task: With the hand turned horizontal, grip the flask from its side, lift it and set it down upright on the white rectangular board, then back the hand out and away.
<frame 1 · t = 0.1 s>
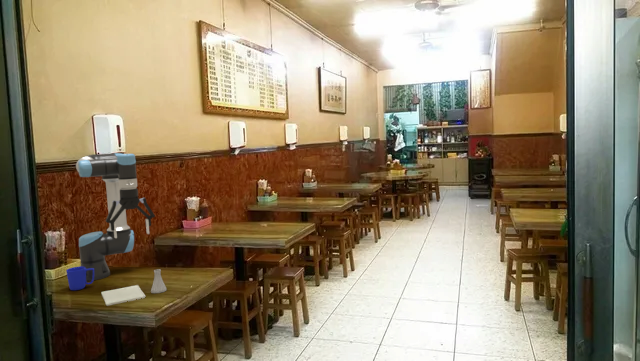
hand: (132, 235, 205), 28 cm above the table, tool pointing down, fingers open, 13 cm apart
white rectangular board: (123, 295, 209), on the table
mug: (82, 288, 224), on the table
flask: (159, 291, 214), on the table
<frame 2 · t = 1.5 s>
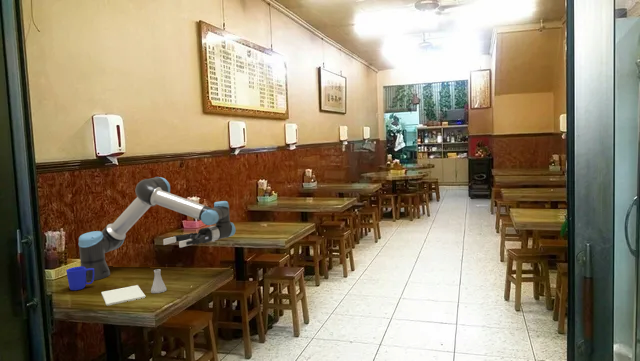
hand: (171, 243, 219), 21 cm above the table, tool horizontal, fingers open, 13 cm apart
nothing on the table moved.
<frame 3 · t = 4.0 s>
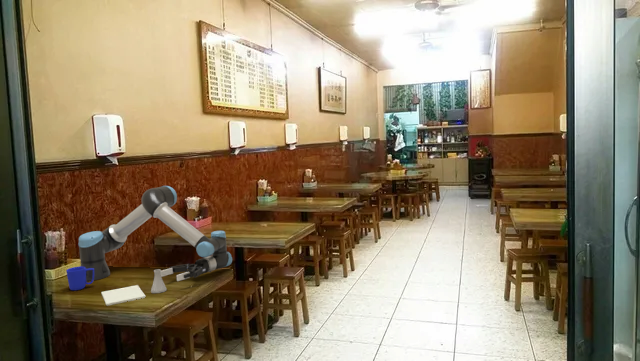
hand: (168, 276, 217), 6 cm above the table, tool horizontal, fingers open, 13 cm apart
nothing on the table moved.
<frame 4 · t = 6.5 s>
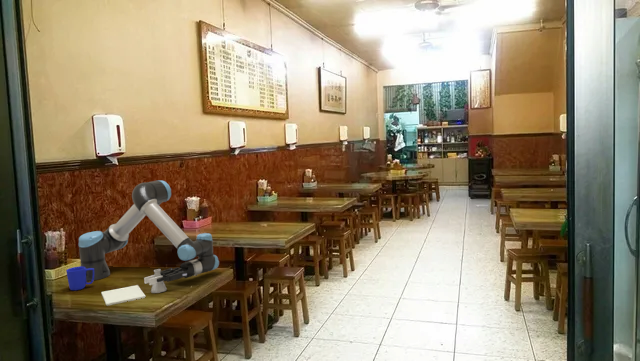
hand: (147, 281, 209), 6 cm above the table, tool horizontal, fingers closed on flask, 3 cm apart
flask: (159, 291, 214), on the table, touching gripper
everything else where it was.
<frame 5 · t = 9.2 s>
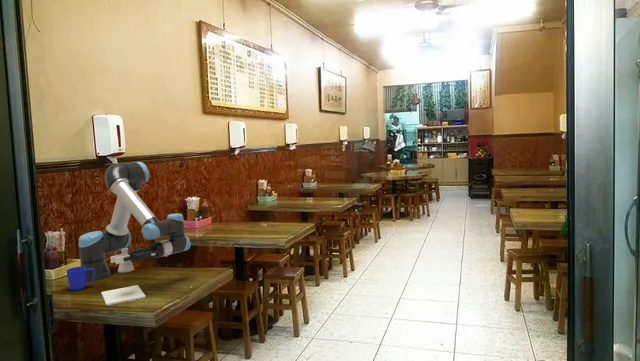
hand: (113, 260, 204), 18 cm above the table, tool horizontal, fingers closed on flask, 3 cm apart
flask: (126, 271, 208), point 11 cm above the table, touching gripper
everything else where it was.
when the fingers open (8 cm above the table, at t = 12.4 s): flask stays where it is, resting on white rectangular board.
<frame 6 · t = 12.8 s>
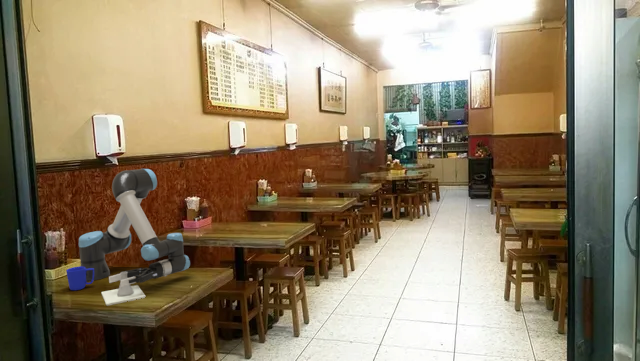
hand: (115, 281, 205), 8 cm above the table, tool horizontal, fingers open, 10 cm apart
flask: (125, 294, 209), point 1 cm above the table, touching white rectangular board
everything else where it was.
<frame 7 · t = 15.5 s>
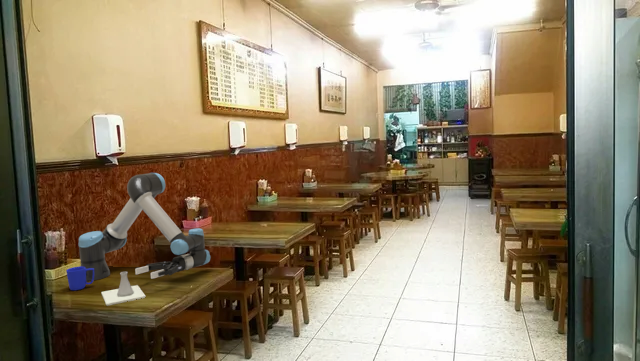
hand: (143, 273, 216), 8 cm above the table, tool horizontal, fingers open, 13 cm apart
nothing on the table moved.
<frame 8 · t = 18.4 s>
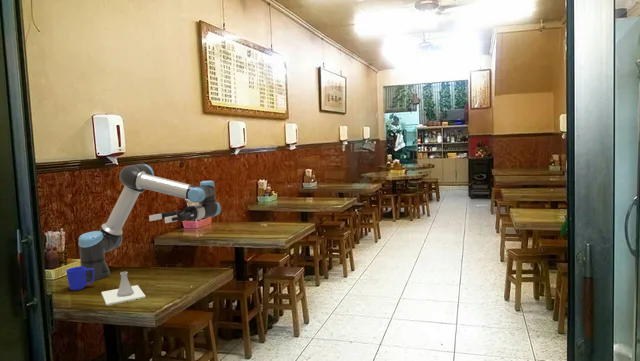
hand: (157, 219, 222), 32 cm above the table, tool horizontal, fingers open, 13 cm apart
nothing on the table moved.
at the end: flask inside the target area on the white rectangular board (1.4 cm from its centre), point 0.6 cm above the white rectangular board's base; flask tilted 0°; the gripper is holding nothing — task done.
